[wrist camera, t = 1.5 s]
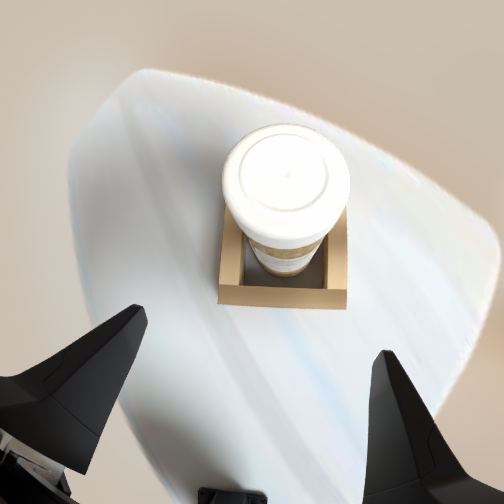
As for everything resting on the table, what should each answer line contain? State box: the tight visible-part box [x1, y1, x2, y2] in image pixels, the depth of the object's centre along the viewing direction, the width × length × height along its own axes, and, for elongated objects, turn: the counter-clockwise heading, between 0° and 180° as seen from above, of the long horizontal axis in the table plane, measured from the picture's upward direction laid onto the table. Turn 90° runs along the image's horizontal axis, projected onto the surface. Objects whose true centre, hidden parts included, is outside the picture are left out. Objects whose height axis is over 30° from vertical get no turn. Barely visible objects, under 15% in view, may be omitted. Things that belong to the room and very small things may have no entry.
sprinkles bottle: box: [221, 124, 350, 277], centre depth 16 cm, size 5×5×13 cm
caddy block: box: [218, 204, 347, 310], centre depth 21 cm, size 9×9×2 cm
